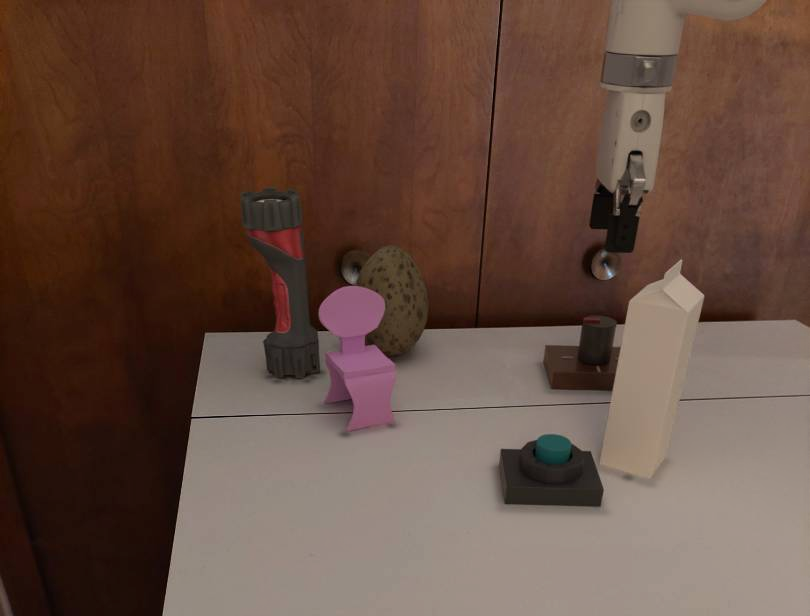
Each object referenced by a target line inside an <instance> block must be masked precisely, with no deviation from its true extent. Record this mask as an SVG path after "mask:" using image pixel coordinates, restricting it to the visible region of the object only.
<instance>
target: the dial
mask: <svg viewBox="0 0 810 616" xmlns="http://www.w3.org/2000/svg"><path fill="white" fill-rule="evenodd" d="M617 324H618V323H617V321H616V319H614V318H611V317H609V316H604V315H588V316H585V317H583V319H582V323H581V329H580V330H581V331H580V337H579V344H578V346H579V349H578V356H577V357H578V359H579V360H580V361H582V362H584V363H587V364H592V365H602V364H606V363H608V362H609V361H610V359H611V353H612V347H614V341H615V336H616V330H617Z"/></svg>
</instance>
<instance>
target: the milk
mask: <svg viewBox="0 0 810 616" xmlns="http://www.w3.org/2000/svg"><path fill="white" fill-rule="evenodd" d="M682 265H683V259H682V258H681V259H680V260H678V261H677V262H676V263H675V264H674V265H673V266H672V267H670V268H669V269H668V270H667V271H666V272H665V273H664V276H663V278H662V279H660V280H657V281H654V282H652V283H648V284H647V285H645V287H643V288H642V289H641V290H640V291H638V293H636V294H635V295H634V296H633V297H632V298H630V300H629V301H628V306H627V310H626V317H625V321H624V328H623V332H622V338H621V344H620V347H621V348H620V354H619V359H618V365H617V370H616V375H615V381H614V386H613V390H612V392H611V398H610V402H609V403H610V404H609V409H608V414H607V419H606V425H605V430H604V435H603V439H602V440H603V441H602V446H601V452H600V456H599V465H602V466H605V467H607V468H612V469H615V470H619V471H622V472H626V473H628V474H632V475H635V476H639V477H642V478H646V479H648V480H650V479H651V478H652V477H653V476H654V474H655V473H656V472H657V470H658V469H659V467H660V466H661V464H662V463H663V461H664V460H665V459H666V457H667V455H668V450H669V446H670V442H671V437H672V434H673V430H674V425H675V421H676V417H677V412H678V410H679V409H678V408H679V405H680V401H681V396H682V393H683V392H682V391H683V388H684V383H685V379H686V375H687V371H688V367H689V363H690V360H691V359H690V358H691V354H692V349H693V347H694V341H695V337H696V335H697V334H696V333H697V329H698V325H699V321H700V317H701V312H702V308H703V304H704V301H705V294H704V293H702V292H701V291H700V290H699V289H698V288H697V287H696V286H695V285H694V284H692V283H691V282H690V280H688V279H687V278H686V277H684V276H683V275H682V273H681V271H682Z"/></svg>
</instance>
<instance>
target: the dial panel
mask: <svg viewBox="0 0 810 616" xmlns="http://www.w3.org/2000/svg"><path fill="white" fill-rule="evenodd" d="M620 348H621V346H613V347H612V353H611V359H610V361H609V362H608V363H606V364H602V365H592V364H587V363H584V362H582V361H580V360H579V359H578V357H577V356H578V349H579V345H560V344H559V345H556V344H545V346H544V354H543V361H542V362H543V365H544V368H545V372H546V375H547V378H548V382H549V385H550V388H551V390H583V391H584V390H586V391H590V390H591V391H613V386H614V381H615V375H616V370H617V365H618V359H619V354H620Z"/></svg>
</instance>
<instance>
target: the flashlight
mask: <svg viewBox="0 0 810 616" xmlns="http://www.w3.org/2000/svg"><path fill="white" fill-rule="evenodd" d="M240 214H241V215H240V216H241V226H242V227H243V228H244V231H245V236H246V238H247V240H248V242H249V243H250V245H251V246H252V247H253V248H254V250H256V251H257V252H258V253H259V254H260V255H261V256H262V257H263V259H264V260H265V262H266V264H267V267H268V269H269V273H270V280H271V292H272V295H273V306H274V310H275V311H274V315H275V317H276V318H275V319H276V320H275V327H274V328H273V330H272V331H271V332H270V333H268V334H267V335H266V337H265V338H264V339H263V341H262V344H263V350H264V355H265V364H266V366H265V367H266V371H267V372H268V373H273V374H274V376H275V377H276V378H279V379H283V378H284V377H285V376H294V377H295V379H303V378H305V377H306V374H309V375H312V374H318V373H320V371H321V360H320V346H319V345H320V343H319V341H320V340H319V333H318V330H317V329H316V328H315V327H314V326H312V325H311V319H310V307H309V306H310V305H309V293H308V278H307V268H306V258H305V255H304V254H305V249H306V245H305V237H304V236H305V235H304V229H303V223H304V219H303V212H302V207H301V199H300V193H299V191H298V190H296V189H293V188H288V189H287V191H284V190H283V191H282V190H277V188H276V187H275V186H274V187H273V186H267V187H263V188H262V191H256V192H252V191H251V190H245V191H243V192H242V193H241V194H240Z"/></svg>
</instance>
